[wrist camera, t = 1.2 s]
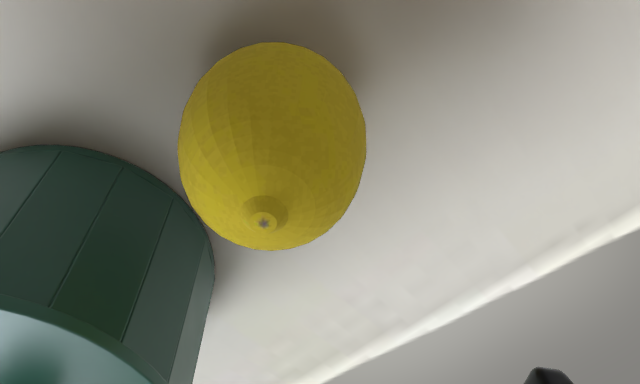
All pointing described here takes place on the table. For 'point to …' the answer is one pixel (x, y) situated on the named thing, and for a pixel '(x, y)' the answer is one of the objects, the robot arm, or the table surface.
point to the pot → (106, 251)
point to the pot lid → (63, 350)
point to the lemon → (271, 146)
